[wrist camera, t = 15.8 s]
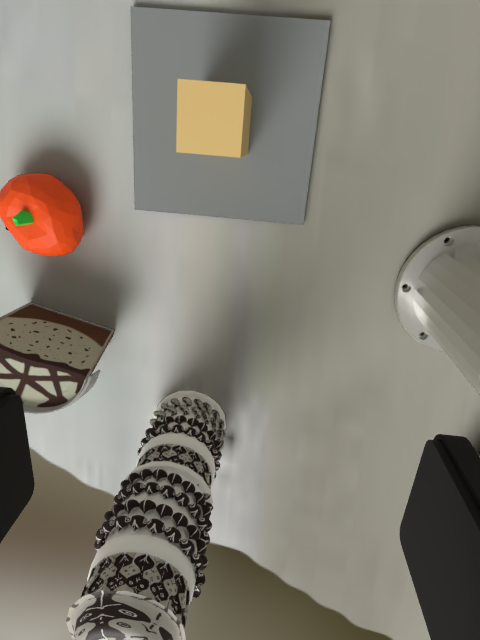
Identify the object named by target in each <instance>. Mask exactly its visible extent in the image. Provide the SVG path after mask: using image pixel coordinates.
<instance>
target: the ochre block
mask: <svg viewBox="0 0 480 640" xmlns="http://www.w3.org/2000/svg"><path fill="white" fill-rule="evenodd" d="M251 109H252V95H251V94H250V92H249V90H248V88H247V86H246V84H237V83H225V82H212V81H200V80H187V79H178V80H177V135H176V152H180V153H191V154H203V155H214V156H226V157H237V158H241V157H243V156H245V155H247V154H248V147H249V134H250V122H251Z"/></svg>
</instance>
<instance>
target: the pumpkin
mask: <svg viewBox="0 0 480 640" xmlns="http://www.w3.org/2000/svg"><path fill="white" fill-rule="evenodd" d="M0 217H1V219H2V220H3V222H4V224H5V226H6V229H7V230H8V231H10V233H11V234H12V235H13V236H14V238H15V239H16V240H17V241H18V242H19V244H20V245H21V246H22V247H23V248H24V249H26V250H28V251H31V252H33V253H36V254H40V255H45V256H60V255H65V254H68V253H70V252H73V251H74V249H75V248H76V247H77V246H78V245H79V243H80V241H81V238H82V236H83V234H84V230H83V219H82V210H81V206H80V203H79V201H78V200H77V198H76V197H75V195H74V194H73V192H72V191H71V190H70V189H69V188H68V187H66V186H65V185H64V184H63V183H62V182H61V181H60V180H58V179H57V178H55V177H54V176H53V175H49V174H44V173H33V174H24V175H17V176H16V177H14V178H13V179H11V180H9V181H8V183H7V184H6V185H5V186H4V187H3V188H2V189H1V191H0Z"/></svg>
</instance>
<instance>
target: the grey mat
mask: <svg viewBox="0 0 480 640" xmlns="http://www.w3.org/2000/svg"><path fill="white" fill-rule="evenodd" d="M329 28H330V20H316V19H302V18H288V17H273V16H259V15H245V14H231V13H217V12H203V11H188V10H174V9H160V8H146V7H132V6H131V48H132V97H133V146H134V195H135V210H146V211H157V212H169V213H180V214H191V215H202V216H213V217H224V218H235V219H246V220H257V221H269V222H280V223H291V224H302V225H303V224H304V216H305V209H306V201H307V194H308V186H309V179H310V171H311V163H312V156H313V148H314V141H315V133H316V126H317V118H318V111H319V103H320V96H321V88H322V81H323V73H324V66H325V58H326V51H327V43H328V36H329ZM178 79H187V80H200V81H212V82H225V83H237V84H246V86H247V88H248V90H249V92H250V94H251V95H252V109H251V122H250V134H249V147H248V154H247V155H245V156H243V157H241V158H237V157H226V156H214V155H203V154H191V153H180V152H176V135H177V80H178Z"/></svg>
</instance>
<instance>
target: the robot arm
mask: <svg viewBox="0 0 480 640" xmlns="http://www.w3.org/2000/svg"><path fill="white" fill-rule="evenodd" d="M447 237H448V240H447V241H446V242H444V240H445V238H447ZM404 284H406V287H402V286H403V285H404ZM394 302H395V309H396V312H397V315H398V318H399V320H400V322H401V323H402V325H403V327H404V328H405V329H406V330H407V332H408V333H409V334H410V335H411V336H412V337H413V338H414V339H415V340H416V341H418V342H419V343H421V344H423V345H425V346H427V347H429V348H432V349H435V350H439V351H444V352H445V353H446V354H447V355H448V357H449V358H450V359H451V360H452V362H453V363H454V364H455V365H456V367H457V368H458V369H459V370H460V372H461V373H462V374H463V375H464V377H465V378H466V379H467V380H468V381H469V383H470V384H471V385H472V386H473V388H474V389H475V390H476V391H477V393H478V394H479V395H480V226H476V225H471V226H460V227H456V228H453V229H449V230H446V231H444V232H441V233H439V234H437V235H435V236H433V237H432V238H430V239H429V240H427V241H426V242H424V243H423V244H421V245H420V246H419V247H418V248H417V249H416V250H415V251H414V252H413V253H412V254H411V255H410V257H409V258H408V260H407V261H406V262H405V264H404V265H403V267H402V269H401V271H400V273H399V275H398V278H397V282H396V286H395V294H394ZM422 332H423V333H422ZM420 333H422V334H420ZM33 490H34V478H33V470H32V464H31V458H30V450H29V443H28V436H27V430H26V423H25V416H24V409H23V402H22V398H21V397H20V396H19V395H16V392H15V391H14V389H12V388H8V387H0V543H1V541H2V540H3V538H4V537H5V535H6V534H7V532H8V531H9V529H10V528H11V526H12V525H13V524H14V522H15V521H16V519H17V518H18V516H19V515H20V513H21V512H22V510H23V509H24V507H25V506H26V505H27V503H28V502H29V500H30V498H31V496H32V494H33ZM400 541H401V545H402V549H403V552H404V555H405V558H406V561H407V565H408V568H409V571H410V574H411V577H412V581H413V584H414V587H415V590H416V593H417V596H418V600H419V603H420V606H421V609H422V612H423V616H424V619H425V622H426V625H427V628H428V632H429V635H430V638H431V640H480V457H479V455H478V454H477V452H476V451H475V449H474V448H473V446H472V445H471V443H470V442H469V440H468V439H467V438H465V437H461V436H452V435H442V434H438V435H436V436H435V438H434V440H428V441H427V442H426V444H425V447H424V450H423V454H422V457H421V460H420V464H419V467H418V470H417V473H416V477H415V480H414V483H413V486H412V490H411V493H410V496H409V500H408V503H407V506H406V509H405V513H404V516H403V519H402V522H401V526H400Z"/></svg>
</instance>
